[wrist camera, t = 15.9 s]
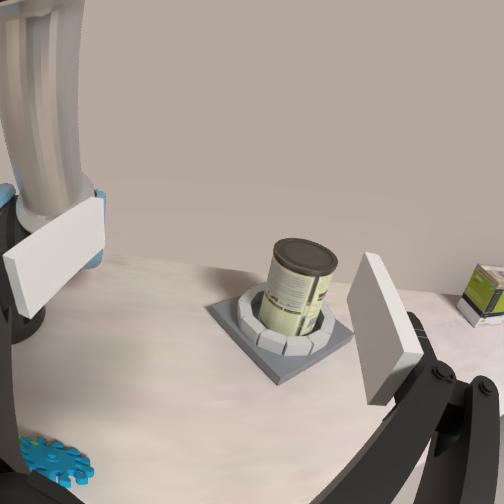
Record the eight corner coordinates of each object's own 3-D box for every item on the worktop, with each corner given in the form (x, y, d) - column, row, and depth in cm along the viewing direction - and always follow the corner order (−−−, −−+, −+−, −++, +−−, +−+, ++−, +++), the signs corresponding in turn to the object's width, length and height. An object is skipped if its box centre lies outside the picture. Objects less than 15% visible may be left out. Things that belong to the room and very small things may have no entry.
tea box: (481, 305, 75) (502, 265, 68) (499, 325, 66) (523, 283, 59) (454, 306, 72) (477, 261, 65) (473, 329, 63) (500, 282, 56)
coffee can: (265, 297, 59) (282, 231, 53) (316, 313, 57) (339, 249, 51) (249, 329, 50) (266, 256, 44) (308, 348, 49) (336, 278, 42)
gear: (110, 463, 25) (55, 486, 16) (108, 500, 24) (57, 527, 14) (44, 425, 27) (-12, 431, 18) (43, 461, 26) (-9, 472, 16)
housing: (210, 313, 55) (212, 294, 53) (284, 288, 67) (289, 271, 65) (277, 385, 43) (284, 367, 41) (350, 341, 55) (359, 323, 52)
